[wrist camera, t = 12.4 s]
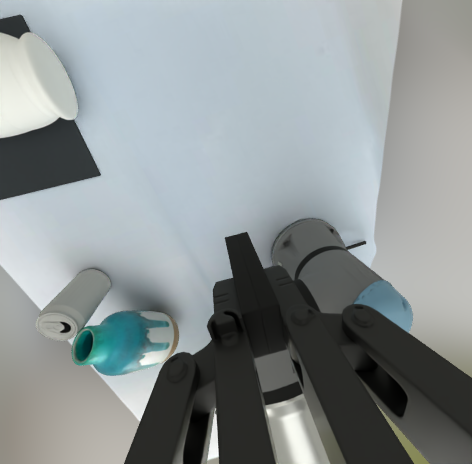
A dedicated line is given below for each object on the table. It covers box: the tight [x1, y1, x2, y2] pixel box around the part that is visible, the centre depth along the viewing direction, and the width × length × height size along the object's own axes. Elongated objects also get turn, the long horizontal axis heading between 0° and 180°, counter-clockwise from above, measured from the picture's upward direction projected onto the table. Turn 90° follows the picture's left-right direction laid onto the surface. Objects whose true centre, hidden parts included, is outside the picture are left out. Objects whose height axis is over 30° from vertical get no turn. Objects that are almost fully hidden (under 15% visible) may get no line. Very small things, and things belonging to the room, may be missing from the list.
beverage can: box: [36, 269, 111, 341], centre depth 38 cm, size 6×6×12 cm
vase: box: [72, 310, 179, 376], centre depth 40 cm, size 11×11×19 cm
